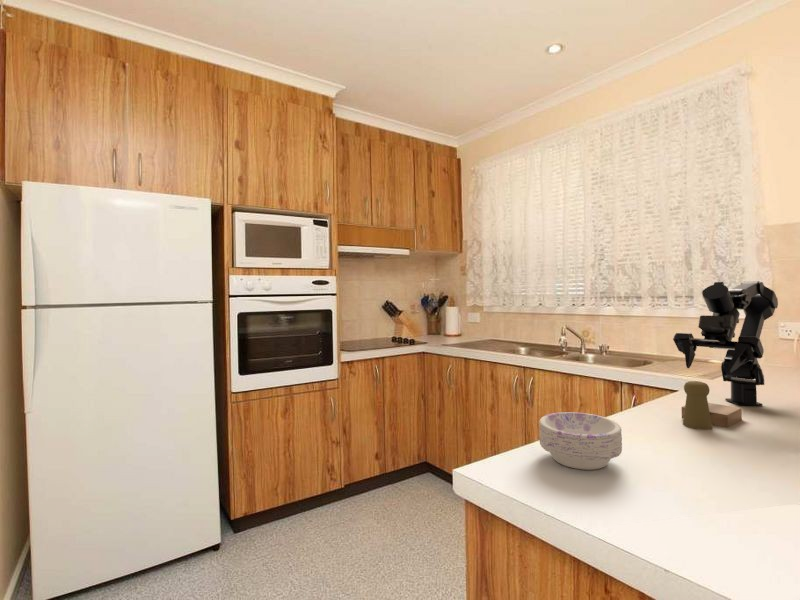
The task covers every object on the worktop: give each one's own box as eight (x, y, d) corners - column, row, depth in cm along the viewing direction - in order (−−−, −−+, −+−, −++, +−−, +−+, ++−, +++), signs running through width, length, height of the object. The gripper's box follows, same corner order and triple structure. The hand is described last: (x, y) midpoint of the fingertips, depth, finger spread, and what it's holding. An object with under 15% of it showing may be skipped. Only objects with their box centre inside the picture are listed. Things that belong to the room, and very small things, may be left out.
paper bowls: (565, 480, 75) (564, 436, 75) (527, 450, 90) (526, 414, 90) (641, 473, 78) (640, 430, 78) (591, 445, 93) (590, 409, 93)
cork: (702, 422, 106) (701, 379, 106) (718, 429, 100) (717, 384, 100) (677, 422, 107) (676, 379, 107) (691, 429, 101) (690, 384, 101)
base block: (681, 418, 110) (681, 406, 110) (697, 411, 116) (696, 400, 116) (727, 427, 102) (727, 415, 102) (741, 419, 108) (741, 408, 108)
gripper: (675, 304, 119) (658, 346, 112) (759, 304, 103) (745, 353, 97) (687, 330, 123) (671, 372, 117) (769, 334, 108) (756, 382, 102)
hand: (707, 369), depth 108 cm, fingers open, 9 cm apart
